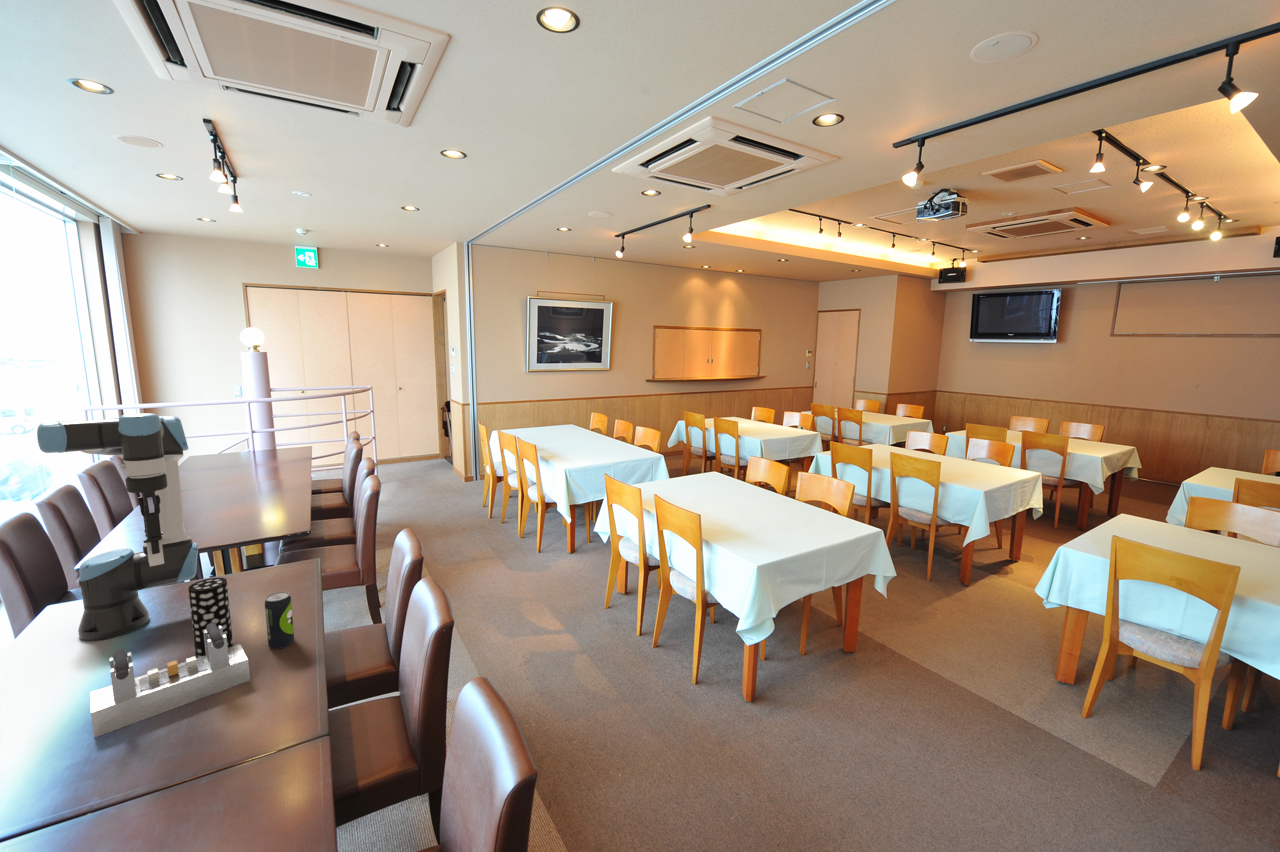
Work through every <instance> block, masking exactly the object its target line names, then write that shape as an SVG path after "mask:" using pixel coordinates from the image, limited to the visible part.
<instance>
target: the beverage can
mask: <svg viewBox="0 0 1280 852" xmlns="http://www.w3.org/2000/svg"><path fill="white" fill-rule="evenodd" d="M264 610H265V611H264V612H265V622H266V632H267V643H268V644H267V645H268V647H269V648H271V649H273V650H280V649H284V648H286V647H288V646H290V645H291V644H292V643H293V641H294V640H295V632H294V631H295V630H294V620H293V607H292V597H291V595H290V592H288V591H277V592H274V593H271V594H269V595H268V596H266V597H265V601H264Z"/></svg>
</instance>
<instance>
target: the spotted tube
mask: <svg viewBox="0 0 1280 852" xmlns="http://www.w3.org/2000/svg"><path fill="white" fill-rule="evenodd" d="M188 598H189V609H190V614H191V615H190V617H191V625H192V634H193V642H194V643H193V645H194V651H195V654H194V655H195V657H196V658H198V657H202V656H205V655H206V651H205V641H204V632H203V631H204V630H207V629H206V626H207V625H208V624H209V623H215V624H216V626H217V628H218V626H222V630H223V635H224V634H225V635H226V637H227V646H228V648H230V647H233V646H234V641H233V640H234V639H233V632H232V631H233V629H232V621H231V611H230V601H229V589H228V580H227V578H226V577H212V578H206V579H202V580H199V581H196V582H194V583H192V584H191V585H189V586H188ZM207 633H208V631H207ZM208 634H209V633H208Z"/></svg>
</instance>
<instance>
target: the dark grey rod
mask: <svg viewBox="0 0 1280 852" xmlns="http://www.w3.org/2000/svg"><path fill="white" fill-rule="evenodd" d="M206 629H207V631H208V633H209V636H210V638H211V641H212V643H213V645H214V647H215V648H216V649H220V648H222V647H223V646H224V641H223V639H222V637H221V635H220V632H219V630H218V628H217V626H216V624H215V623H209V624H208V625H207V626H206Z"/></svg>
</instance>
